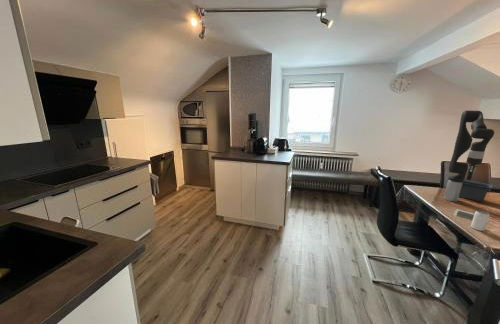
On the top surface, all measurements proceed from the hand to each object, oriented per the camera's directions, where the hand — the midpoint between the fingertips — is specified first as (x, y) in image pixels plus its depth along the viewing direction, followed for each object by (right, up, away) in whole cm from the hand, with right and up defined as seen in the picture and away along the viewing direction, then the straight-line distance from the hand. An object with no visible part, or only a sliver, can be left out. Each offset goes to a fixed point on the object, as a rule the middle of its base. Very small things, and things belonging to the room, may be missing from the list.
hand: (468, 179), depth 151 cm
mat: (-1, -27, +1) cm, 27 cm away
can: (-10, -31, -15) cm, 36 cm away
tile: (-1, -25, +1) cm, 25 cm away
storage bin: (+36, -19, +33) cm, 52 cm away
